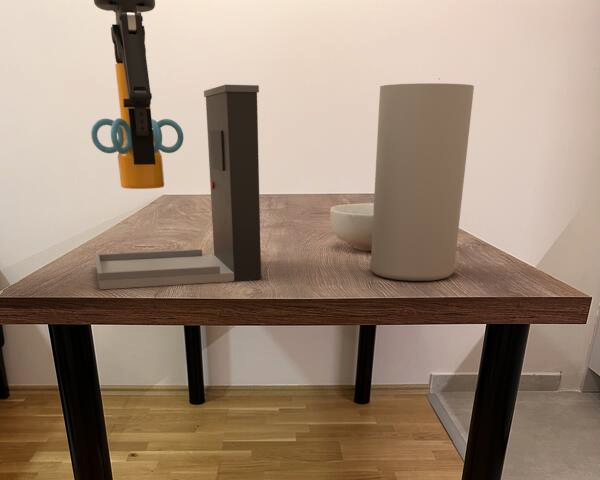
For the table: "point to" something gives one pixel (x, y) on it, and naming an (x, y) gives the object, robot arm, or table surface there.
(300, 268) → the table surface
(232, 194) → the grey l-shaped stand
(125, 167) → the cylinder
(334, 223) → the cereal bowl
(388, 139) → the cylinder vase
